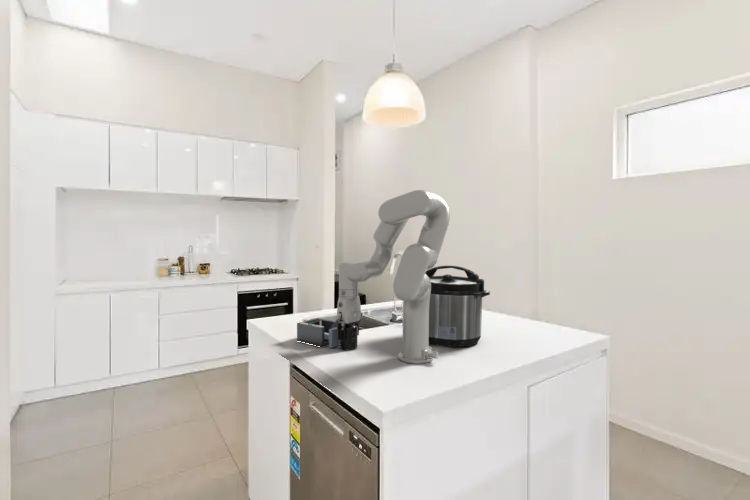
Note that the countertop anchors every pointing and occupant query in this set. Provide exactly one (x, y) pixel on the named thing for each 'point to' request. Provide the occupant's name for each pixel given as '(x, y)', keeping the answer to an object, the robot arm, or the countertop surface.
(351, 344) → the supplement bottle
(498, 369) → the countertop surface
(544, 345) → the countertop surface
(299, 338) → the box
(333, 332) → the gauge plunger
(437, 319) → the pressure cooker
